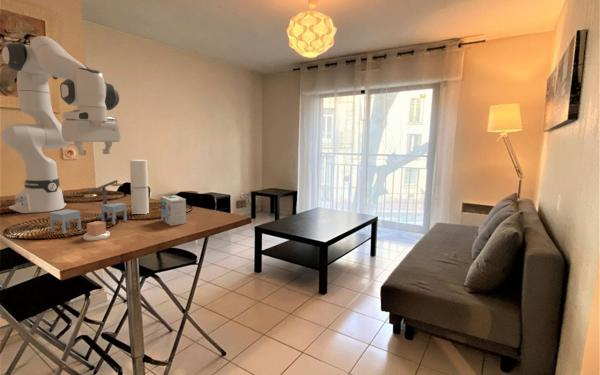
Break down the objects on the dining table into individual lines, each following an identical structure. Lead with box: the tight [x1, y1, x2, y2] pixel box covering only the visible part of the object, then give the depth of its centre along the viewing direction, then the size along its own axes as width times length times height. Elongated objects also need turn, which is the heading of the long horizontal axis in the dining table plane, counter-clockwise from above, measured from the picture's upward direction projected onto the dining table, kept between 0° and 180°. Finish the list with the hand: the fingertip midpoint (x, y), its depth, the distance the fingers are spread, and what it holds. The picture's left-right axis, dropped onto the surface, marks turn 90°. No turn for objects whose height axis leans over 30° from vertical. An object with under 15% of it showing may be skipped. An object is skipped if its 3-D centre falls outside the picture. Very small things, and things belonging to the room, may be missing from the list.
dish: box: [82, 230, 111, 242], centre depth 112 cm, size 8×8×1 cm
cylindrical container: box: [129, 159, 150, 215], centre depth 145 cm, size 7×7×25 cm
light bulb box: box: [160, 194, 187, 226], centre depth 134 cm, size 11×7×11 cm, turn 45°
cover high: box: [100, 201, 128, 225], centre depth 130 cm, size 6×6×8 cm
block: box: [86, 220, 107, 236], centre depth 111 cm, size 4×4×4 cm
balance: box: [83, 179, 123, 221], centre depth 134 cm, size 6×17×16 cm, turn 162°
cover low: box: [49, 208, 82, 234], centre depth 116 cm, size 6×6×8 cm
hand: (94, 154), depth 113 cm, fingers open, 8 cm apart
